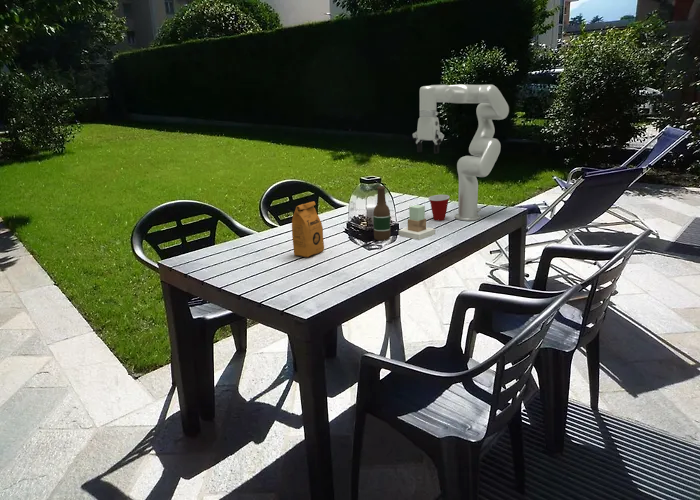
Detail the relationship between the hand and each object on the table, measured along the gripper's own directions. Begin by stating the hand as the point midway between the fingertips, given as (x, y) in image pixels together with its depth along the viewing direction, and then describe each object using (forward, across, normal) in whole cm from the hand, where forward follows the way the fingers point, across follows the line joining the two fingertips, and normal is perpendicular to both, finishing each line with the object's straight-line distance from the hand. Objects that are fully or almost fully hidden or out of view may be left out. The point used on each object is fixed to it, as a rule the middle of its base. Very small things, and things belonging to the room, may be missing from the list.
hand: (427, 152), depth 235 cm
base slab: (+36, -3, +12) cm, 38 cm away
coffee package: (+36, +15, +62) cm, 73 cm away
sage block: (+29, -3, +12) cm, 31 cm away
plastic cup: (+36, +6, -17) cm, 41 cm away
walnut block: (+34, -3, +12) cm, 36 cm away
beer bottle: (+36, +6, +26) cm, 45 cm away
